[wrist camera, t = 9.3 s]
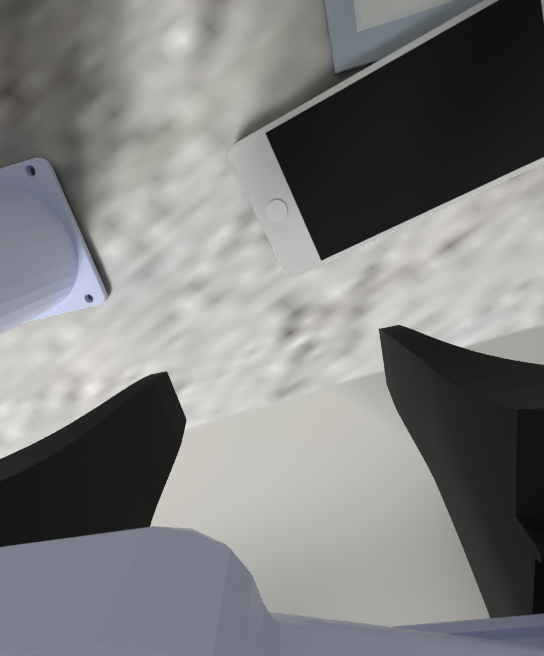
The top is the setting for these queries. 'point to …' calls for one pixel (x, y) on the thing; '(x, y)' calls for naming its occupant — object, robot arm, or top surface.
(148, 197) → the top surface
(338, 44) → the sticky note
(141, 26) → the top surface
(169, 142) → the top surface
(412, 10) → the charger plug
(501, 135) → the smartphone
